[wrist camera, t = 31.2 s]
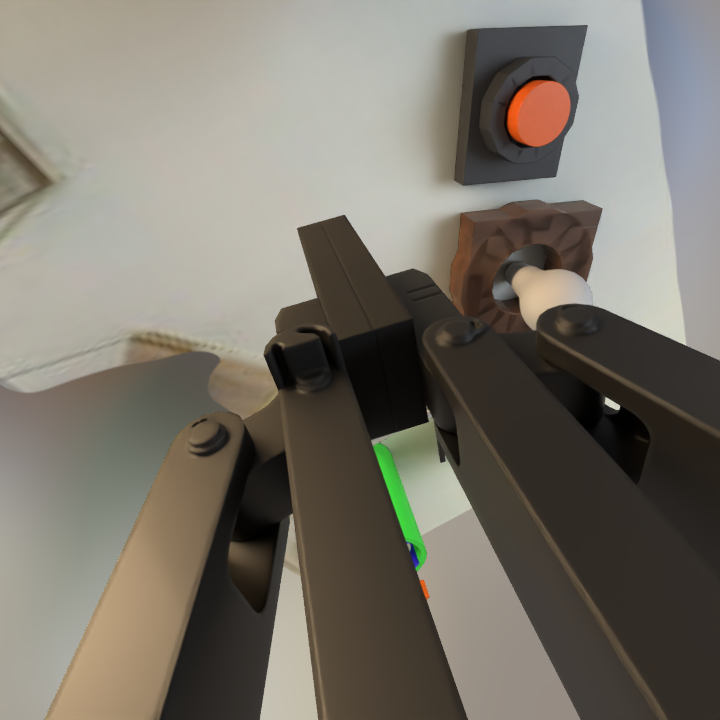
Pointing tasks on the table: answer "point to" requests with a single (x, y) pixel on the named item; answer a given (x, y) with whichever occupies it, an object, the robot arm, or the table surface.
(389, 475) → the green-shelled ribbed roller
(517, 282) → the lightbulb
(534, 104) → the test button
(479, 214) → the bulb stand
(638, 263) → the table surface
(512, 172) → the black button base
